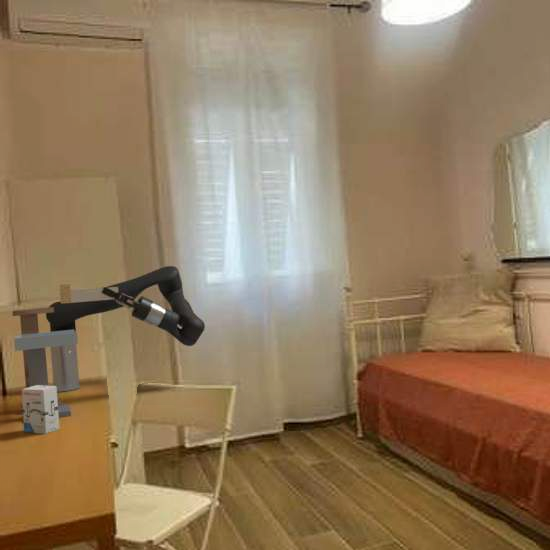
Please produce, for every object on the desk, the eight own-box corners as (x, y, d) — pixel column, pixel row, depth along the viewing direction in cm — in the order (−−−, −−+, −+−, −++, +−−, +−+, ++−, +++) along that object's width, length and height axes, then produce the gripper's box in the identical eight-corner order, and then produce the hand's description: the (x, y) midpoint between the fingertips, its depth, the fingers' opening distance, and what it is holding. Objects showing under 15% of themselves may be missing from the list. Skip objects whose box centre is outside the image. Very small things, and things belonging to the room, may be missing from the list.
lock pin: (60, 303, 194) (59, 285, 194) (117, 298, 200) (115, 281, 200) (61, 303, 189) (60, 284, 189) (119, 298, 195) (117, 280, 195)
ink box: (23, 432, 158) (19, 388, 158) (38, 427, 162) (35, 385, 162) (45, 434, 154) (42, 389, 154) (60, 429, 158) (57, 385, 158)
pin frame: (22, 415, 181) (16, 335, 182) (80, 406, 188) (74, 329, 188) (21, 424, 168) (14, 338, 168) (83, 414, 174) (76, 332, 174)
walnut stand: (21, 409, 191) (13, 310, 191) (61, 403, 195) (53, 307, 195) (20, 414, 182) (12, 311, 183) (62, 408, 187) (53, 307, 187)
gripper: (147, 322, 194) (99, 300, 189) (140, 320, 208) (94, 299, 202) (157, 301, 196) (109, 279, 190) (150, 301, 209) (104, 280, 203)
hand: (102, 289), depth 196 cm, fingers closed on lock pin, 4 cm apart
